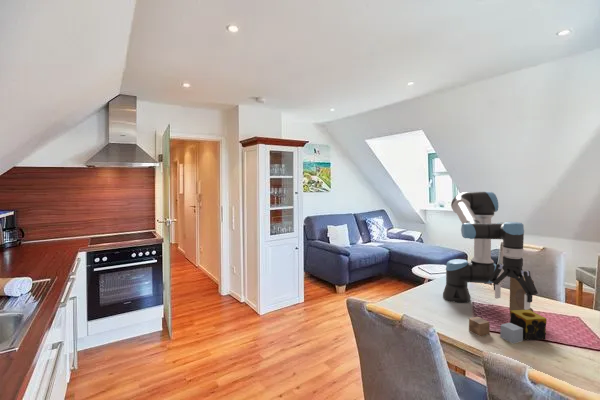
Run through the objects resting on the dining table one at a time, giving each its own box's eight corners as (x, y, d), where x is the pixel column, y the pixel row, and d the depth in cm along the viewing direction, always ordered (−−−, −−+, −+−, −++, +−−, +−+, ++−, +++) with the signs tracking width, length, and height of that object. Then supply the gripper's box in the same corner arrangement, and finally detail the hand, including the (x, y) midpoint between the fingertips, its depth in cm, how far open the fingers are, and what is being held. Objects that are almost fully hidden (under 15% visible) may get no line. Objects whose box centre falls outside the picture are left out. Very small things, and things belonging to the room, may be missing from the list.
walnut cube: (468, 330, 150) (469, 318, 150) (478, 328, 152) (478, 316, 152) (479, 336, 145) (480, 324, 144) (489, 334, 147) (489, 321, 146)
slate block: (500, 337, 144) (500, 324, 143) (509, 335, 146) (509, 322, 145) (513, 343, 138) (513, 330, 138) (522, 341, 140) (522, 328, 140)
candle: (508, 330, 150) (508, 310, 149) (528, 329, 151) (528, 308, 150) (525, 341, 140) (525, 319, 139) (546, 339, 141) (547, 318, 140)
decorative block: (533, 318, 161) (534, 280, 160) (522, 318, 161) (522, 280, 160) (519, 309, 172) (520, 274, 171) (508, 309, 172) (509, 274, 171)
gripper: (481, 251, 150) (481, 294, 151) (536, 264, 127) (535, 315, 128) (493, 250, 153) (492, 292, 154) (548, 262, 129) (547, 312, 131)
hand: (511, 303), depth 141 cm, fingers open, 13 cm apart
